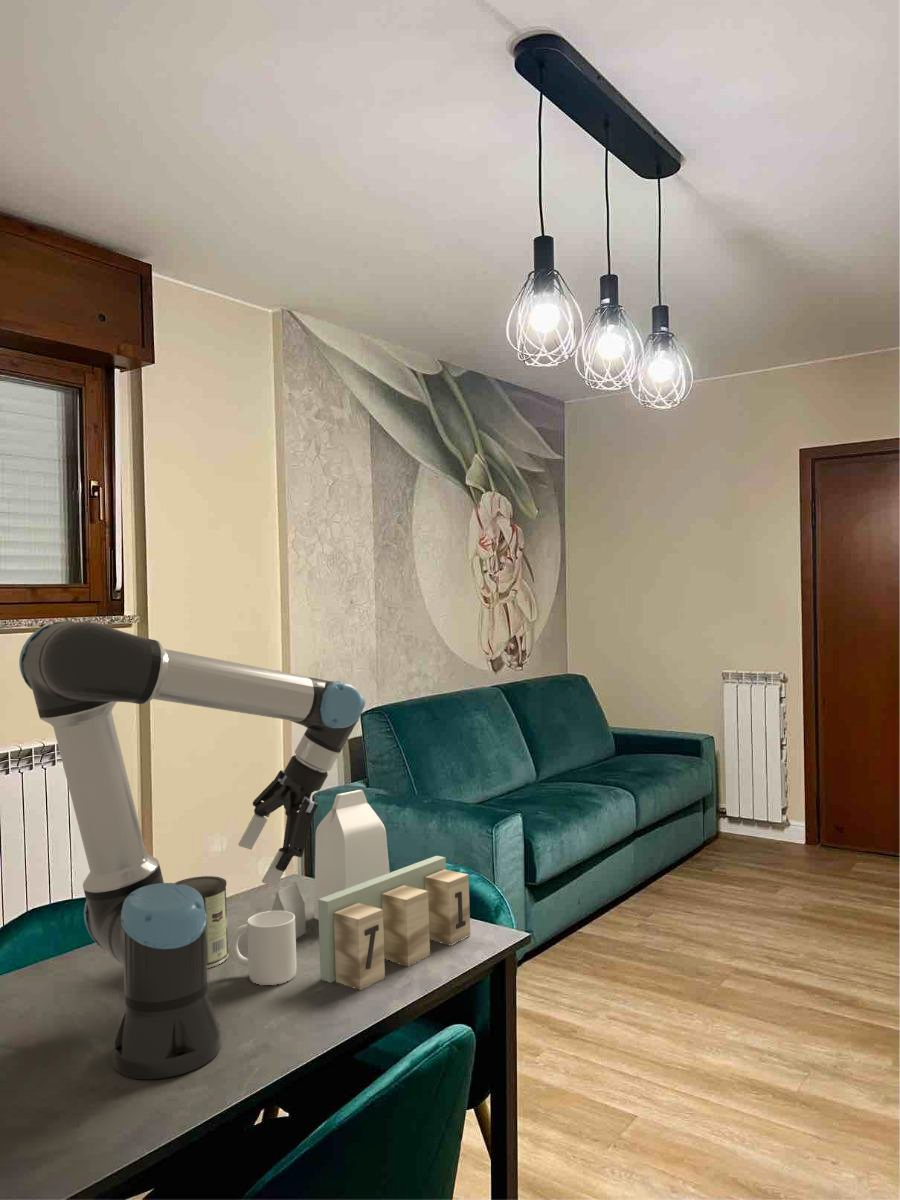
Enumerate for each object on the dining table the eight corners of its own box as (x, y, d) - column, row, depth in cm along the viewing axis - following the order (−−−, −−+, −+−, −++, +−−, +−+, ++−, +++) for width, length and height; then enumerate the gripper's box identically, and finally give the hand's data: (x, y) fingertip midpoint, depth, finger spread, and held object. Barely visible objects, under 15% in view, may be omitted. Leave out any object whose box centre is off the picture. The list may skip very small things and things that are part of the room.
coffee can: (184, 949, 174) (182, 875, 174) (236, 949, 173) (234, 875, 173) (161, 971, 164) (159, 893, 164) (217, 971, 163) (214, 893, 163)
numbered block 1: (471, 936, 176) (469, 874, 176) (451, 946, 171) (449, 882, 171) (446, 929, 180) (444, 869, 180) (426, 939, 175) (425, 877, 175)
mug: (221, 984, 157) (219, 924, 157) (242, 965, 165) (240, 908, 165) (285, 988, 155) (283, 927, 155) (303, 968, 163) (302, 911, 163)
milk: (346, 931, 180) (342, 801, 180) (314, 918, 189) (310, 793, 189) (393, 916, 188) (389, 791, 188) (360, 903, 197) (356, 784, 197)
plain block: (430, 956, 167) (428, 890, 167) (408, 966, 162) (406, 899, 162) (405, 948, 170) (403, 885, 170) (383, 959, 166) (381, 893, 166)
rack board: (447, 927, 181) (445, 857, 181) (330, 982, 156) (327, 901, 156) (438, 925, 182) (436, 855, 182) (320, 979, 158) (318, 899, 158)
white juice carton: (305, 932, 181) (303, 882, 181) (287, 945, 174) (285, 893, 174) (289, 930, 182) (287, 881, 182) (271, 943, 176) (269, 891, 176)
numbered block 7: (386, 978, 157) (383, 909, 157) (361, 990, 153) (359, 919, 153) (360, 970, 161) (358, 902, 161) (335, 981, 157) (333, 912, 157)
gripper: (355, 798, 159) (297, 905, 159) (303, 743, 180) (251, 837, 179) (321, 786, 155) (261, 895, 155) (271, 731, 176) (219, 828, 175)
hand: (256, 864), depth 167 cm, fingers open, 13 cm apart
